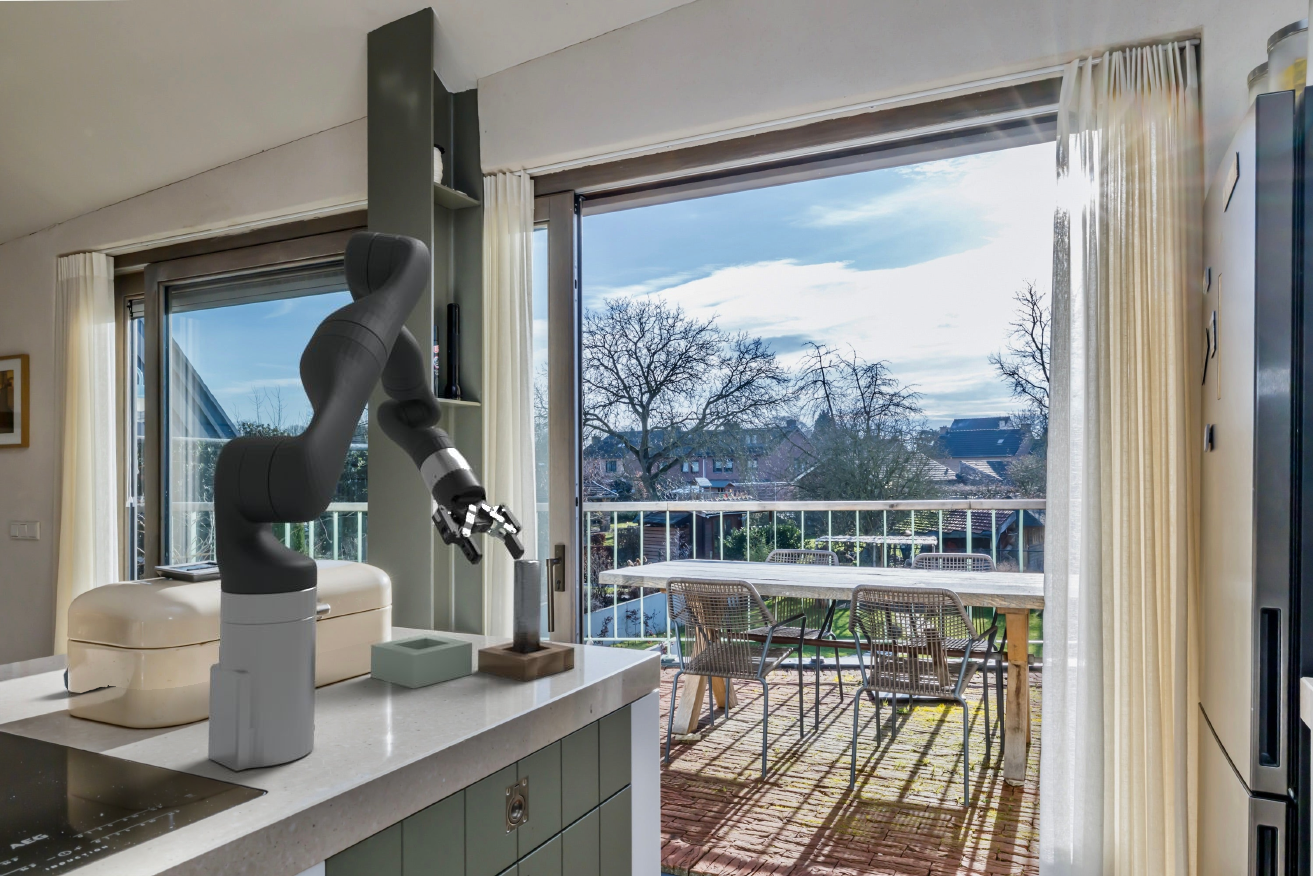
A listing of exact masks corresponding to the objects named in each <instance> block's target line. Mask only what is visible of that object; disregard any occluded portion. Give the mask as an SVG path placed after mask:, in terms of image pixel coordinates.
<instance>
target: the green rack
mask: <svg viewBox="0 0 1313 876" xmlns="http://www.w3.org/2000/svg"><path fill="white" fill-rule="evenodd" d="M472 674H473V642H470V641H466V640H461V639H456V638H453V637H451V638H450V637H447V636H441V635H436V634H432V633H427V634H422V635H416V636H411V637H410V636H409V637H406V638H401V639H396V640H391V641H390V640H389V641H385V642H380V643H375V644H371V645H370V677H371V678H374V679H378V680H381V681H385V682H389V683H392V684H396V685H400V686H403V687H406V688H411V689H418V688H421V687H426V686H429V685H433V684H434V685H435V684H437V683H442V682H447V681H450V680H454V679H457V678H461V677H465V676H469V675H472Z"/></svg>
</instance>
